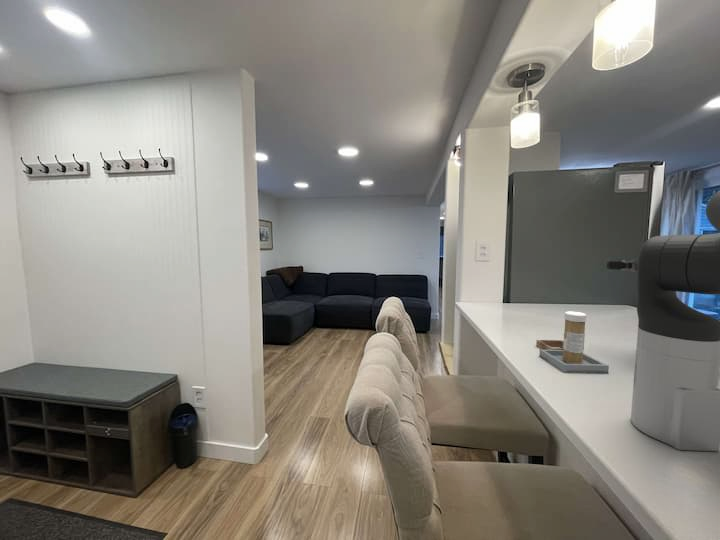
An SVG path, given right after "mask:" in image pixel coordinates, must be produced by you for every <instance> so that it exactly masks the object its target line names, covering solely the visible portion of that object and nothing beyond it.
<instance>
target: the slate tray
mask: <svg viewBox="0 0 720 540" xmlns="http://www.w3.org/2000/svg"><path fill="white" fill-rule="evenodd" d="M539 357H540V358H542V359H543V360H544V361H546V362H547V363H549V364H550V365H552V366H553V367H555V368H557V369H558V370H559V371H561V372H562V373H566V374H571V373H572V374H609V369H610V367H609V365H608V364H607V363H604V362H602V361H600V360H599V359H597V358H594V357H592V356H591V355H588V354H586V353H585V352H583V364H569V363H566V362H564V361H563V360H562V358H563V350H542V349H539Z"/></svg>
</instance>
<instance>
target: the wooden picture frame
mask: <svg viewBox="0 0 720 540" xmlns="http://www.w3.org/2000/svg"><path fill="white" fill-rule="evenodd" d="M563 342H564V340H562V339H559V340H558V339H536V344H535V346H536V347H537V348H539V350H563Z"/></svg>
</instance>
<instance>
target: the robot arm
mask: <svg viewBox="0 0 720 540" xmlns="http://www.w3.org/2000/svg"><path fill="white" fill-rule="evenodd" d="M705 215H706V218H707V220H708V222H709V223H710V224H711V226H712V227H713V228H714V229H715V230H717V233H709V234H708V233H707V234H705V233H704V234H701V233H699V234H697V233H696V234H671V235H670V234H669V235H655V236H652V237H649V238H648V239H647V240H646V241H645V242H643V244H642V246H641V248H640V251H639V254H638V258H637V259H632V260H621V259H619V260H617V261H615V260H612V261H610V260H608V261H607V263H606V269H607V270H618V271H631V272H632V273H636V282H637V283H636V284H637V285H636V287H637V289H636V290H637V291H636V313H637V318H638V324H637V337H636V349H635V361H634V373H633V385H632V395H631V396H632V398H631V413H630V423H631V424H632V425H633V426H634V427H635V428H636V429H637V430H639V431H641V432H642V433H644V434H645V435H647V436H648V437H651V438H653V439H656V440H658V441H660V442H662V443H665V444H667V445H669V446H672V447H673V448H675V449H676V450H678V451H703V452H704V451H705V452H707V451H709V452H720V389H719V388H718V387H719V386H718V384H719V378H720V377H719V375H720V320H719V319H718V318H716V317H714V316H711V315H709V314H707V313H703V312H701V311H699V310H698V309H697V310H696V309H694V308H692V307H691V306H689V305H687V304H685V303H684V302H683V301H682V300H680V299H679V298H678V296H677V292H680V293H690V294H699V295H700V294H701V295H708V296H709V295H711V296H713V295H720V189H718V191H716V192H715V194H713V195H712V196H711V198H710V199H709V201H708V202H707V204H706V206H705Z"/></svg>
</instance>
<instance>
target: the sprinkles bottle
mask: <svg viewBox="0 0 720 540" xmlns="http://www.w3.org/2000/svg"><path fill="white" fill-rule="evenodd" d="M586 322H587V314H586V313H584V312H580V311H571V310H570V311H565V312H564V333H563V341H564V342H563V358H562V360H563V361H564V362H566V363H569V364H583V353H585V351H584V350H585V335H586V332H585V331H586Z"/></svg>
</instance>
